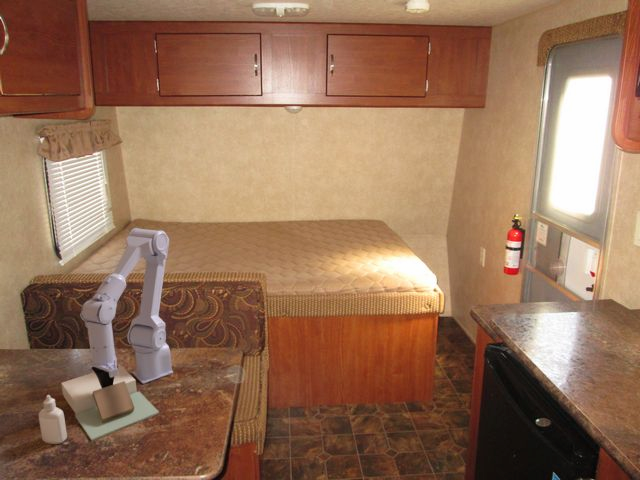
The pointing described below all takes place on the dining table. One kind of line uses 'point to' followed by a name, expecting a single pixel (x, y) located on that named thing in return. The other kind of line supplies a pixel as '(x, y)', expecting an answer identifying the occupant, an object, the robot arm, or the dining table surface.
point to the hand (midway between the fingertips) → (107, 390)
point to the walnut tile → (113, 401)
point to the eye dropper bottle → (52, 422)
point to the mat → (99, 429)
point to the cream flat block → (91, 389)
